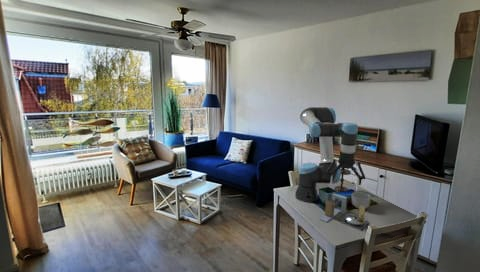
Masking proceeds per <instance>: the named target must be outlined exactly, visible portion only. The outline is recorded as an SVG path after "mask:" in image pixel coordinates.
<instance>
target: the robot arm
mask: <svg viewBox="0 0 480 272" xmlns="http://www.w3.org/2000/svg"><path fill="white" fill-rule="evenodd" d="M299 116H300V117H299V119H300V121H301V122H302V123H303V124H304V125H306V126H307V127H308V133H309V136H310V137H313V138H318V137H319V138H318V139H319V150H320V151H319V152H320V162H319V163H315V162H306V163H302V164H300V166H299V170H298V183H297V184H298V186H297V187H296V188H297V189H296V191H295V193H294V194H295V195H294V197H295V198H296V199H297V200H299V201H300V202H301V201H302V202H305V203H307V202H308V203H313V202H316V201H318V200H319V192H318V189H317V184H326V185H327V184H329V187H330V188H332V189H333V185H334V184H338V183H340V179H341V169H342V168H345V169H347V170H349V169H351V170H352V171H353V173H354V174H355V175H356V177H357V178H356V187H355V189H356V190H355V191H357V192H359V186H361V185H362V180H366V175H365V173H364V171H363V168H362V166H361V161H360V160H358V161H356V160H355V159H356V158H355V157H356V153H355V152H356V149H357V147H356V146H357V138H358V132H359V129H358V127H359V126H358V124H357V123H354V122H337V123H336V120H337V115H336V111H335V110H334V109H333V108H332V107H327V106H325V107H320V106H319V107H315V106H313V107H312V106H311V107H307V108H305V109H303V110H302V111H301V113H300V115H299ZM333 138H341V140H340V149H339V150H340V151H339V156H338V157H339V158H338V159H336V158H335V154H334V144H333ZM354 165H356V166H357V167H358V169H359V172H360V173H359V172H358V171H357V170H356V168H355V167H354ZM341 167H342V168H341ZM360 174H361V175H360Z"/></svg>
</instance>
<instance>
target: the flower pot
mask: <svg viewBox="0 0 480 272" xmlns="http://www.w3.org/2000/svg"><path fill="white" fill-rule="evenodd" d="M334 193H335V194H338V193H339V191H336V190H335V188H333V187H332V188H331V187H330V186H326V187H325V186H324V187H321V188H318V198H319V200H320V201H321V203H323V204H324V205H326V200H327V199H332V194H334ZM338 195H339V194H338Z"/></svg>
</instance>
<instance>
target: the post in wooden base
mask: <svg viewBox="0 0 480 272" xmlns="http://www.w3.org/2000/svg"><path fill="white" fill-rule="evenodd" d="M341 204H342V200H341V199H337V200H336V202H335V200H332V199H327V200H326V204H325V209H324V215H327V216H329V217H332V216H333V215H334V208H335V207H337V206H338V207H339V205H341Z"/></svg>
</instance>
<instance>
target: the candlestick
mask: <svg viewBox="0 0 480 272" xmlns="http://www.w3.org/2000/svg"><path fill="white" fill-rule="evenodd" d="M340 169H341V177H340V180H339V183H340V185H336V186H334V190H336V191H338V193H347V192H349V189H348V187H345V186H343V185H344V181H345V179H344V176H349V175H351V174H352V171H351V170H349V169H347V168H342V167H341V168H340Z"/></svg>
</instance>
